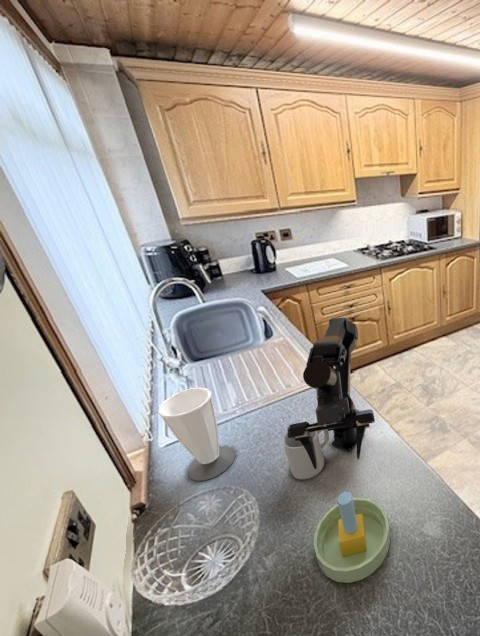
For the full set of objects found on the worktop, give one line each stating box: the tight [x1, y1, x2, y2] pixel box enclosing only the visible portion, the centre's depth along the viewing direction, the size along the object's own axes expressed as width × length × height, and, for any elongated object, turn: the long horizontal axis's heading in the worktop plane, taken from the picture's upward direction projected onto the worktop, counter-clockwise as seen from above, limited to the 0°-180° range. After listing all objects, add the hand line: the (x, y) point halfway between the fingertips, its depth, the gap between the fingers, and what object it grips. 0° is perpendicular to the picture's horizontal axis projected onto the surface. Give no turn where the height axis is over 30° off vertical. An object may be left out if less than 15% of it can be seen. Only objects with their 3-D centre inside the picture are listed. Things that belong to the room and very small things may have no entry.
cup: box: [157, 386, 236, 482], centre depth 90 cm, size 12×12×22 cm
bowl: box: [313, 497, 391, 584], centre depth 73 cm, size 15×15×4 cm
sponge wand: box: [337, 491, 367, 557], centre depth 71 cm, size 5×5×14 cm
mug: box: [282, 429, 330, 480], centre depth 92 cm, size 12×8×11 cm
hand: (337, 464), depth 76 cm, fingers open, 9 cm apart
